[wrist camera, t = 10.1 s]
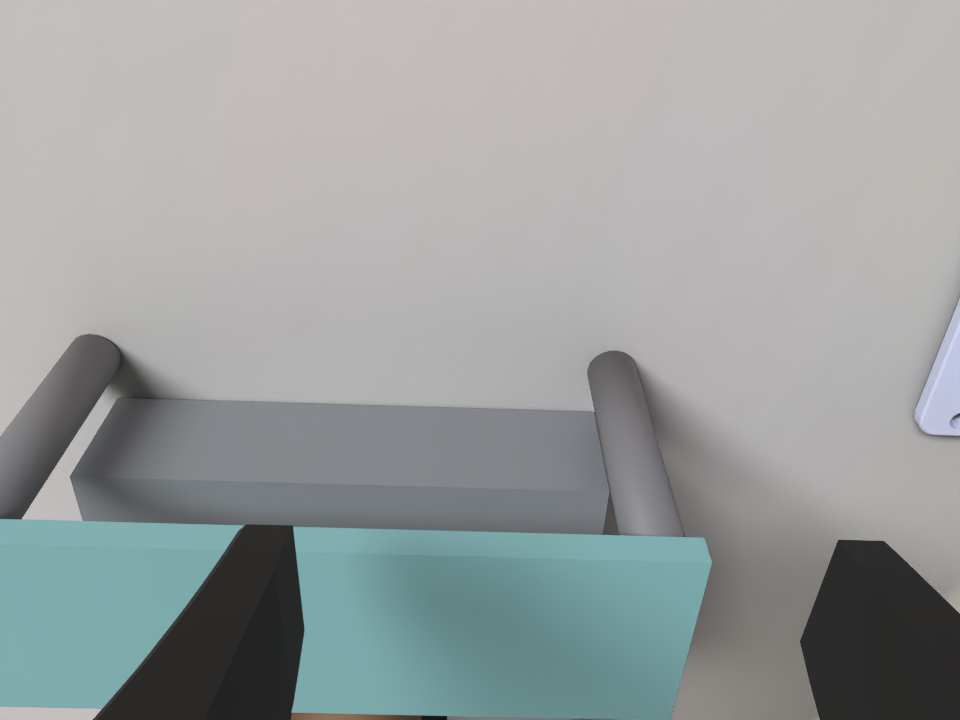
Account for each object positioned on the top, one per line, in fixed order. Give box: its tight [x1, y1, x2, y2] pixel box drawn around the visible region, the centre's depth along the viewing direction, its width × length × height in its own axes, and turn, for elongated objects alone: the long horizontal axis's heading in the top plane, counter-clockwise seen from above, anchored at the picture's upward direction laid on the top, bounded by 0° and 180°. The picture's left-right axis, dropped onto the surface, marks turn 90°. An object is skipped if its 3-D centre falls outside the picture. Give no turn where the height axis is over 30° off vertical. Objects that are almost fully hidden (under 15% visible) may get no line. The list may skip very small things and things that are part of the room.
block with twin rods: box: [0, 334, 712, 720], centre depth 19 cm, size 14×4×7 cm, turn 88°
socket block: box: [70, 398, 610, 720], centre depth 23 cm, size 12×12×3 cm
